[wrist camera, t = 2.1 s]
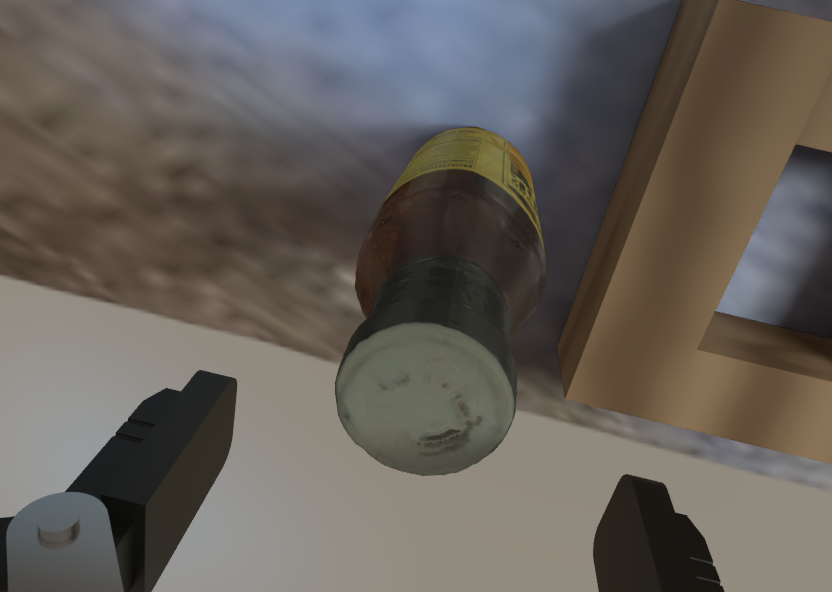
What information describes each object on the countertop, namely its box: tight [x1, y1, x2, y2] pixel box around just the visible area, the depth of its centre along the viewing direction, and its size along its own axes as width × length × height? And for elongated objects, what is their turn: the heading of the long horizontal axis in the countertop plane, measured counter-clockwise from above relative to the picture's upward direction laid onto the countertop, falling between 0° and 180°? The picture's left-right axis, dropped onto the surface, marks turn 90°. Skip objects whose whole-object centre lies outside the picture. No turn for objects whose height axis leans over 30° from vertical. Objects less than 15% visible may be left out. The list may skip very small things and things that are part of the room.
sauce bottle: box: [335, 127, 547, 476], centre depth 23 cm, size 6×6×20 cm
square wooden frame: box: [557, 0, 832, 464], centre depth 29 cm, size 18×18×5 cm
